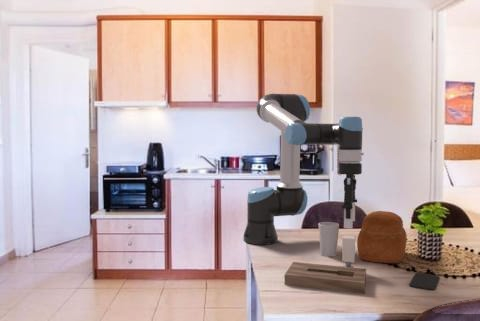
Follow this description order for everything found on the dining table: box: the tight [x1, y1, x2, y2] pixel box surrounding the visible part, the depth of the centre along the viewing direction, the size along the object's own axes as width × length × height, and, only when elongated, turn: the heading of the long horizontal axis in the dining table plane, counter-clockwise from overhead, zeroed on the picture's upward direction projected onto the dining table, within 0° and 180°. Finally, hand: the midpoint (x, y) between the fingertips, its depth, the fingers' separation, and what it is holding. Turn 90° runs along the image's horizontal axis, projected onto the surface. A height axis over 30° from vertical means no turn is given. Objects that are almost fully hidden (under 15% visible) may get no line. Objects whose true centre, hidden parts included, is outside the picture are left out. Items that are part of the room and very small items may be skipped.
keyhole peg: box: [341, 235, 356, 268], centre depth 146 cm, size 4×4×12 cm
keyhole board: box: [284, 261, 367, 294], centre depth 136 cm, size 14×24×3 cm, turn 72°
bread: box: [356, 210, 408, 264], centre depth 165 cm, size 18×22×17 cm
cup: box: [317, 221, 340, 257], centre depth 167 cm, size 8×8×12 cm
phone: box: [408, 272, 440, 292], centre depth 136 cm, size 7×1×15 cm
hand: (349, 224), depth 145 cm, fingers open, 13 cm apart
